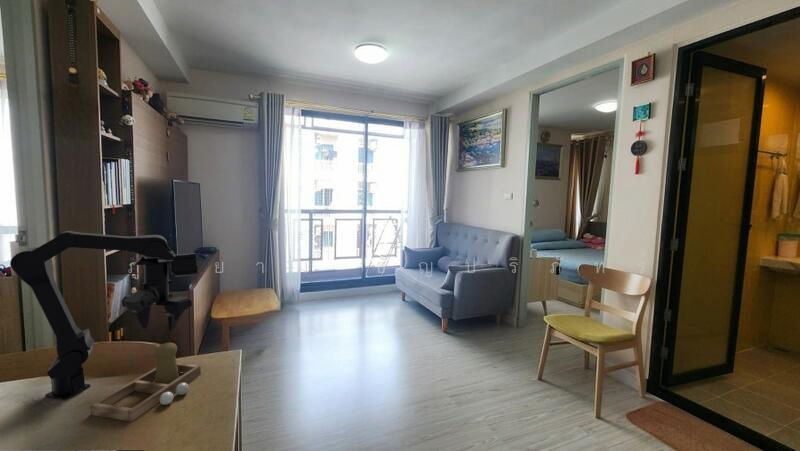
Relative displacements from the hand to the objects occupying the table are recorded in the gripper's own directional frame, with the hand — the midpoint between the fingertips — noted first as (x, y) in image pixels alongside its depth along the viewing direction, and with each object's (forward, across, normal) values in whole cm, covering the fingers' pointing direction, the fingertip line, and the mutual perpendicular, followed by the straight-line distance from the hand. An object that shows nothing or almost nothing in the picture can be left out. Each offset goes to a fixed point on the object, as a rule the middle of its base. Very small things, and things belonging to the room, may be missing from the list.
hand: (158, 330), depth 101 cm
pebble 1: (+13, +15, -12) cm, 23 cm away
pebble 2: (+13, +15, -8) cm, 22 cm away
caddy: (+13, +7, -9) cm, 17 cm away
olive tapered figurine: (+13, +7, -4) cm, 15 cm away
